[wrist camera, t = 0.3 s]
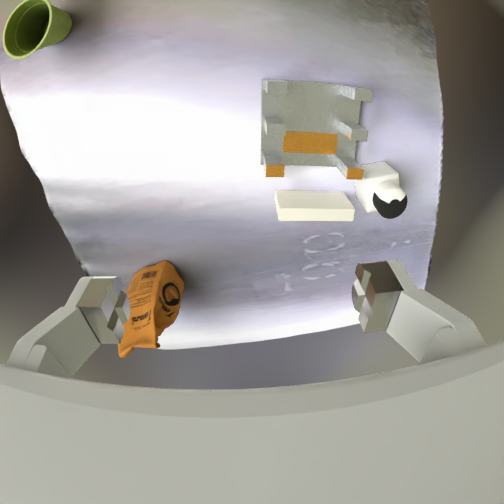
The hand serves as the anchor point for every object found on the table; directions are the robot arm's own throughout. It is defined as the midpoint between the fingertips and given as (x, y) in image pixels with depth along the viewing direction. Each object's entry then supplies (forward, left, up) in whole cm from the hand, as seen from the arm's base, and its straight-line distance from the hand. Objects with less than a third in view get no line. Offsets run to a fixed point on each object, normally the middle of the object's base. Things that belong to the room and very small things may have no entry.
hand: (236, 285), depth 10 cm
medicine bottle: (+14, +26, -47) cm, 56 cm away
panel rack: (+3, +12, -47) cm, 49 cm away
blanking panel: (+18, +13, -47) cm, 52 cm away
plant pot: (-22, -36, -47) cm, 63 cm away
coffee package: (+39, -21, -47) cm, 65 cm away
